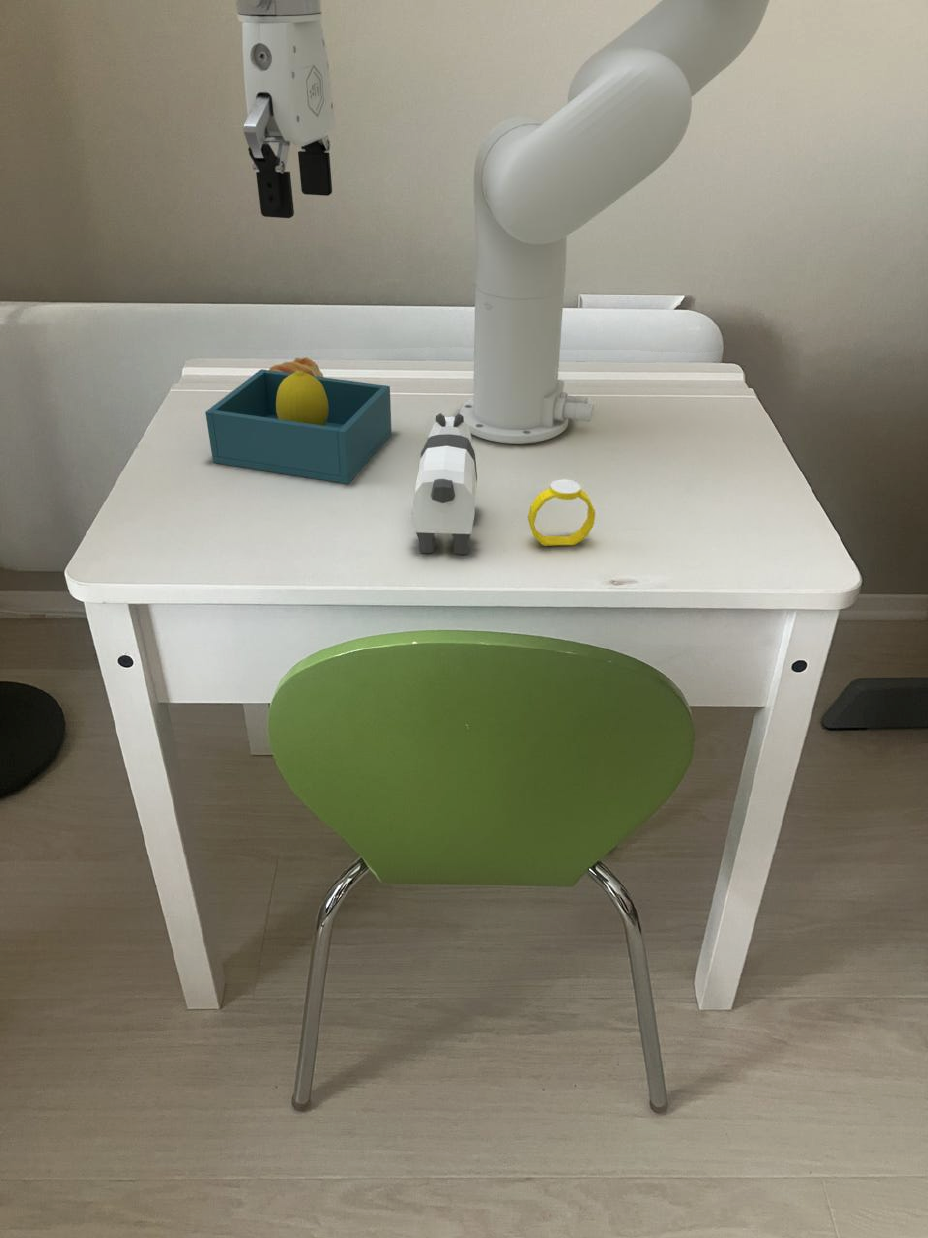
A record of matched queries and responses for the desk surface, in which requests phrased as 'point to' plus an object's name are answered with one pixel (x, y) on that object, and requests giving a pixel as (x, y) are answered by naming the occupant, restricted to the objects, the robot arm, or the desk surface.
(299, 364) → the pastry
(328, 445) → the teal open bin
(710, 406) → the desk surface
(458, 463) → the giant panda
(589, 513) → the watch
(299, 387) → the lemon
